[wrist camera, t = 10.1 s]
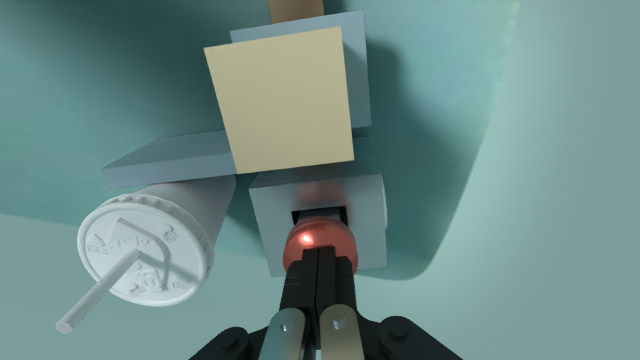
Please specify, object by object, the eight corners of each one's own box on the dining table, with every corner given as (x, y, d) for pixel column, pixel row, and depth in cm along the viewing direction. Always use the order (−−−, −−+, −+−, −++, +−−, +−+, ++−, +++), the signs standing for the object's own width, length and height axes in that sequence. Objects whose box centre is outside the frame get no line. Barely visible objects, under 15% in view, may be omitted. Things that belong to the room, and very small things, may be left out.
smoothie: (238, 132, 22) (110, 253, 9) (263, 208, 24) (189, 386, 12) (158, 149, 23) (-67, 282, 10) (190, 221, 25) (44, 402, 12)
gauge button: (302, 218, 22) (289, 293, 15) (293, 173, 20) (275, 234, 14) (351, 213, 21) (361, 287, 15) (346, 167, 20) (354, 225, 13)
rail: (285, 146, 22) (280, 157, 20) (229, -143, 16) (212, -173, 14) (352, 137, 22) (355, 148, 20) (323, -163, 15) (322, -198, 13)
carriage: (163, 153, 22) (18, 247, 12) (126, 52, 20) (-106, 59, 9) (366, 128, 21) (401, 207, 11) (357, 15, 18) (393, -26, 8)
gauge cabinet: (286, 217, 25) (271, 277, 18) (272, 148, 22) (248, 189, 16) (376, 208, 24) (392, 266, 18) (370, 135, 22) (387, 172, 15)
